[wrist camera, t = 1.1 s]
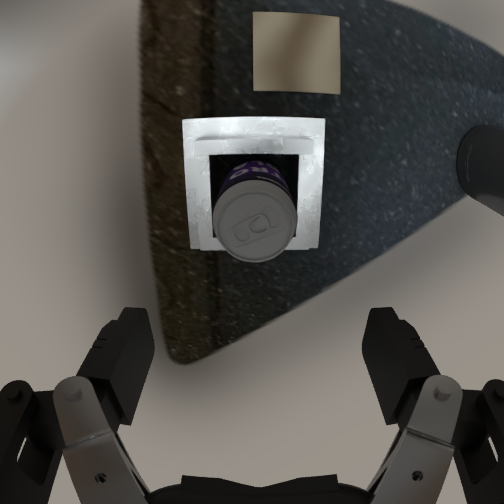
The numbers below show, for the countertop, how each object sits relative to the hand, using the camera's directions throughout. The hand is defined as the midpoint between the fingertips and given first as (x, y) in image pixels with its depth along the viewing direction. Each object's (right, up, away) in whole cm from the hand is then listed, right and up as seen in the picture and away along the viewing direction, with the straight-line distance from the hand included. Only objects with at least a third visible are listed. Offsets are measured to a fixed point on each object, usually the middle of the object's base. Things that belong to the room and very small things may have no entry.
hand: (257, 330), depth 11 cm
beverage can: (0, +9, +20) cm, 22 cm away
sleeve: (0, +9, +20) cm, 22 cm away
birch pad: (+4, +21, +14) cm, 26 cm away
